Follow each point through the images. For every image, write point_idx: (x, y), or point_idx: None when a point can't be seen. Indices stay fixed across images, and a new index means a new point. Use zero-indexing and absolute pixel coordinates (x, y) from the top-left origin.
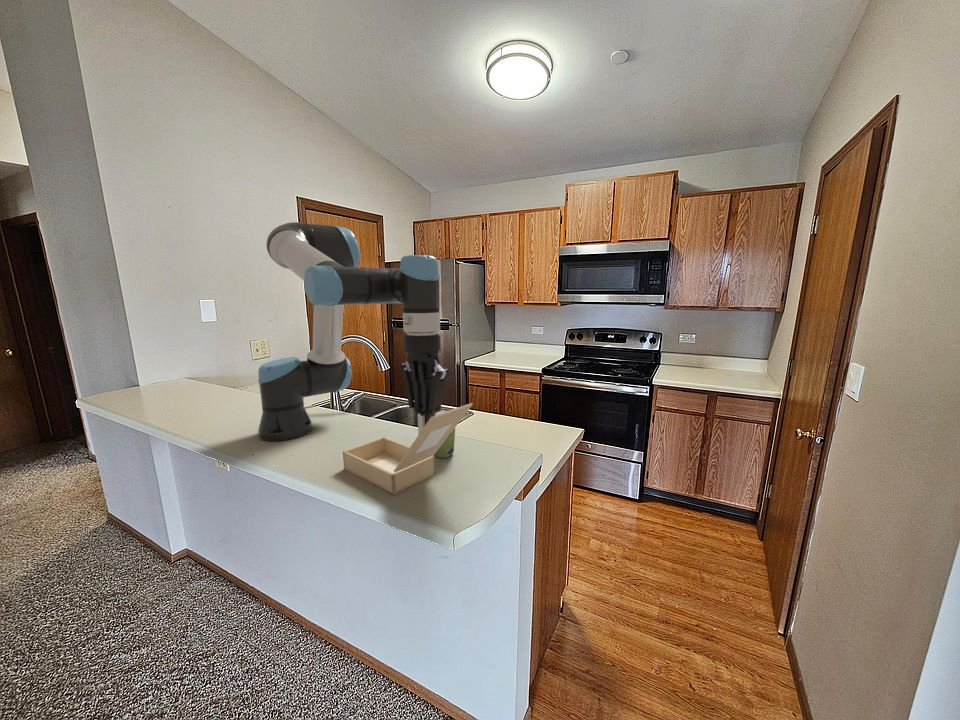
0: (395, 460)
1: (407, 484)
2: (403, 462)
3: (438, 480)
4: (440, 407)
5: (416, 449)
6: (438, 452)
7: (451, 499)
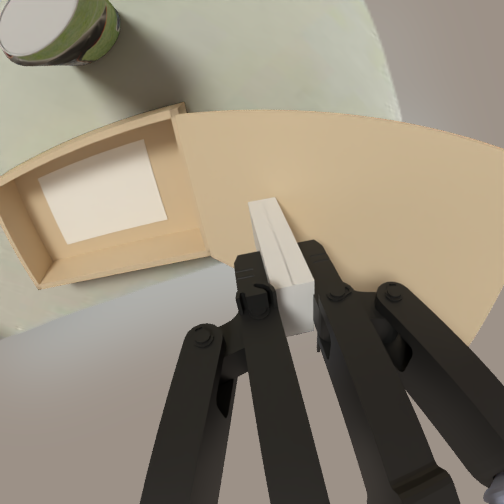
0: (60, 166)
1: None
2: None
3: None
4: (414, 297)
5: None
6: (101, 54)
7: None
